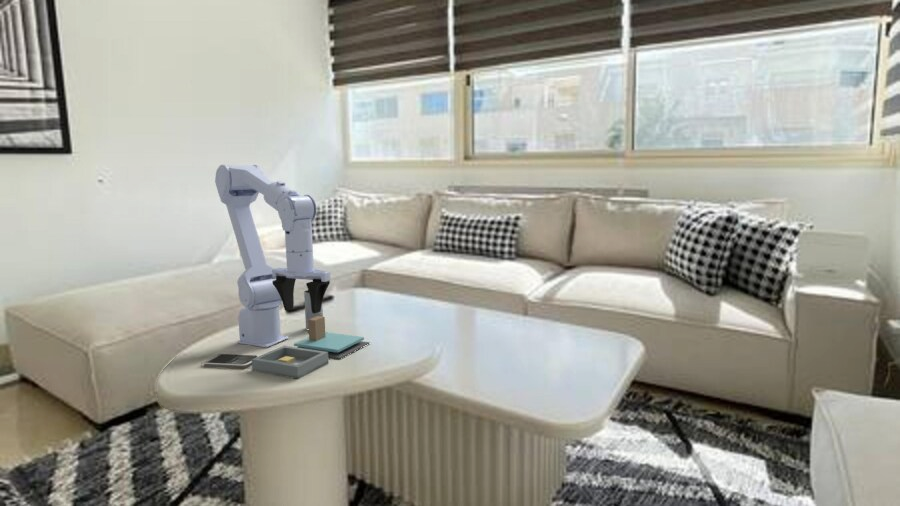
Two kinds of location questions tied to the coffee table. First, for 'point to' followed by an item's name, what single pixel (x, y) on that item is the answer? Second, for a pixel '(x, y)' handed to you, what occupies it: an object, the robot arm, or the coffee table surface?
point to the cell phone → (229, 361)
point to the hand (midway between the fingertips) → (302, 310)
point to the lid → (326, 338)
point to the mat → (345, 350)
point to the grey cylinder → (308, 308)
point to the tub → (290, 361)
